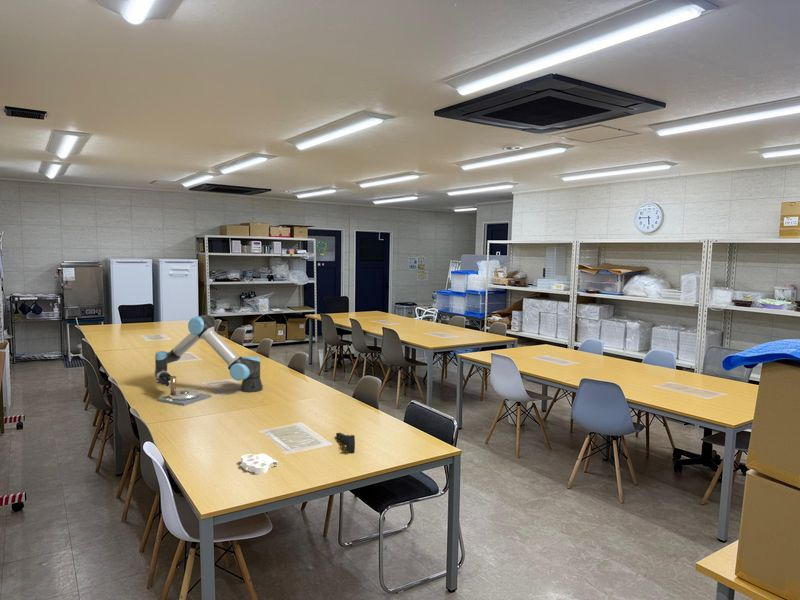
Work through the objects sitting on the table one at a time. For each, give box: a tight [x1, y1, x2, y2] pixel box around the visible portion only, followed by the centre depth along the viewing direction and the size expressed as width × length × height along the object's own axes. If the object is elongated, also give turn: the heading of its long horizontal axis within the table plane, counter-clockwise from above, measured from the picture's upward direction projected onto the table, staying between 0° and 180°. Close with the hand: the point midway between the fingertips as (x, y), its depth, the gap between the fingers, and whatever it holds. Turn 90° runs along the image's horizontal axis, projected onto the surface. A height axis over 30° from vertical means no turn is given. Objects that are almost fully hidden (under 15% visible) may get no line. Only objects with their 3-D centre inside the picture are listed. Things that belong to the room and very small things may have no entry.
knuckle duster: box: [238, 453, 279, 475], centre depth 237 cm, size 3×18×15 cm
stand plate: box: [156, 392, 212, 407], centre depth 342 cm, size 23×23×2 cm
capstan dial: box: [168, 375, 200, 400], centre depth 341 cm, size 18×18×14 cm
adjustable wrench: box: [335, 432, 356, 454], centre depth 265 cm, size 8×3×25 cm
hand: (171, 385), depth 338 cm, fingers closed
